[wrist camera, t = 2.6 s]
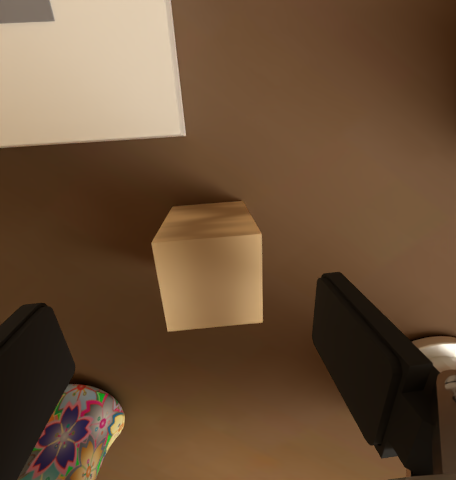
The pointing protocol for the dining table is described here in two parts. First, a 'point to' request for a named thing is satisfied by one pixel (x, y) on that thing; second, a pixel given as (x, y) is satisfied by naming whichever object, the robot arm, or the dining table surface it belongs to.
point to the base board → (88, 72)
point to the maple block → (209, 266)
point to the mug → (76, 436)
